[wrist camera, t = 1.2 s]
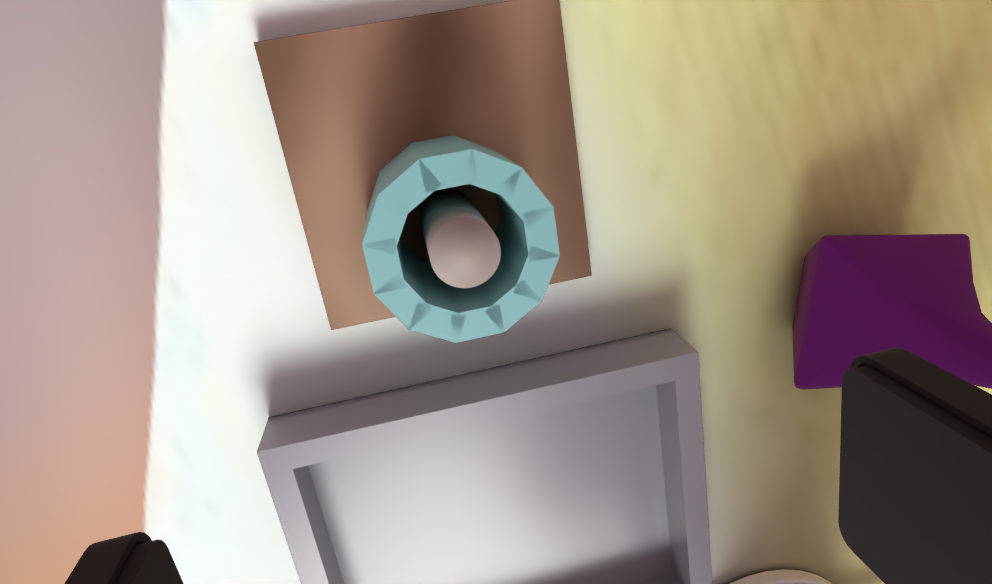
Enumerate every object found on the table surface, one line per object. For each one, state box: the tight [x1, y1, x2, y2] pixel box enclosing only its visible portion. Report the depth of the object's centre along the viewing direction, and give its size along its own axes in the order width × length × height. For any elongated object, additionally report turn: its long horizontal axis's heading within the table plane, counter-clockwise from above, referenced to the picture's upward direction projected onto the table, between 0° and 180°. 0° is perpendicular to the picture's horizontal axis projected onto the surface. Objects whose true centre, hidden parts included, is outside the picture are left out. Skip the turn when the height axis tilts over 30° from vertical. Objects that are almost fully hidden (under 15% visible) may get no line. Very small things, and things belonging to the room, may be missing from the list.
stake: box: [254, 0, 592, 330], centre depth 24 cm, size 12×12×8 cm
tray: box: [257, 329, 712, 584], centre depth 32 cm, size 20×16×3 cm
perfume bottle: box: [793, 234, 992, 389], centre depth 25 cm, size 8×8×18 cm
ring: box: [362, 135, 560, 343], centre depth 25 cm, size 7×8×6 cm
